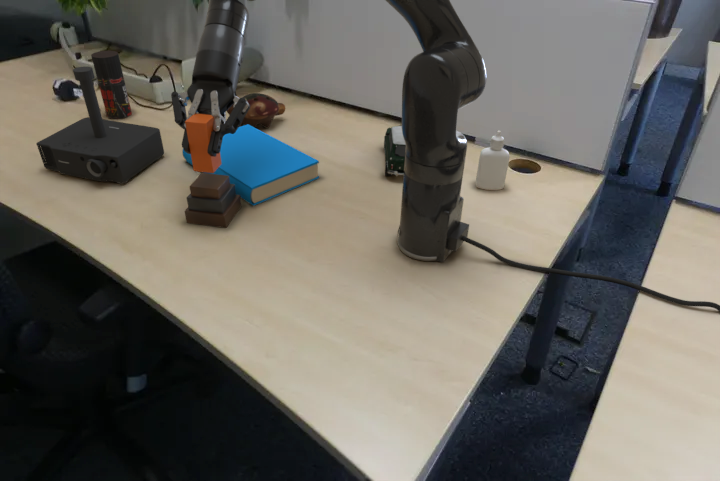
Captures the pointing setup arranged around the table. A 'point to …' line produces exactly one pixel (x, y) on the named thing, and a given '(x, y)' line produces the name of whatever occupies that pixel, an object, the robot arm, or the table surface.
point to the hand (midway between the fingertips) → (199, 153)
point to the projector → (100, 143)
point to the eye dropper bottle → (493, 165)
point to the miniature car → (394, 151)
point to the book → (262, 165)
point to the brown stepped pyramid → (212, 201)
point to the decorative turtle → (260, 110)
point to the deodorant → (111, 84)
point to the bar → (201, 143)
